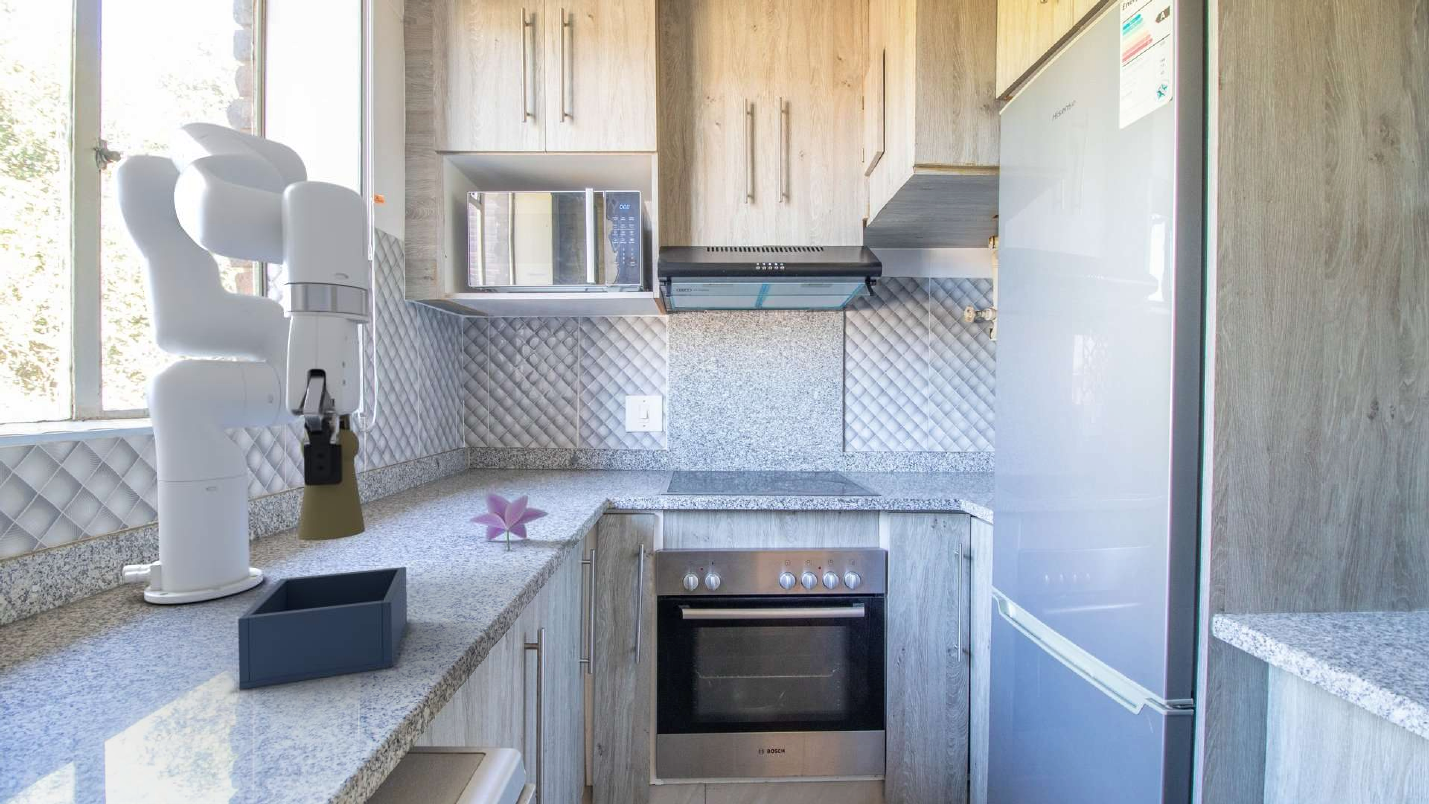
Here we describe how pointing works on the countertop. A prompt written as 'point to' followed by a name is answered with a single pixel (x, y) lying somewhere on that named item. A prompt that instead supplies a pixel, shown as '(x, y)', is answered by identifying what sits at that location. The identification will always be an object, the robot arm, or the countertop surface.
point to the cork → (333, 500)
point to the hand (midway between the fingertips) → (330, 478)
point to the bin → (323, 627)
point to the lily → (507, 516)
